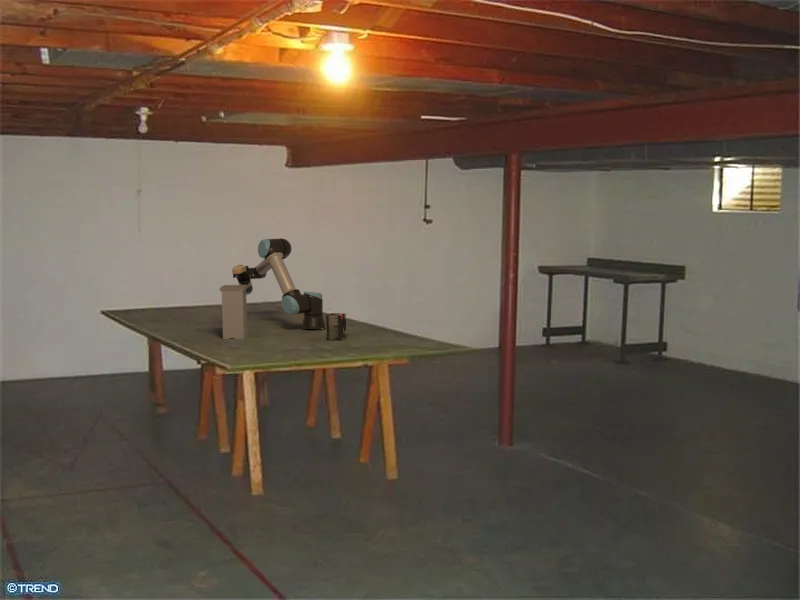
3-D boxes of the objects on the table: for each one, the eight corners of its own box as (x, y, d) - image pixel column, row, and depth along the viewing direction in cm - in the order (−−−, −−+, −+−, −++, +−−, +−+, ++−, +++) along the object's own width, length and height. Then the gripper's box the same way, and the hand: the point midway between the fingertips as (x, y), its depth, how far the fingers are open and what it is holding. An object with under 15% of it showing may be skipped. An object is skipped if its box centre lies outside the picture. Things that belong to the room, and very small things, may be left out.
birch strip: (238, 270, 569) (238, 265, 568) (245, 270, 569) (245, 265, 568) (232, 273, 541) (232, 268, 540) (240, 273, 541) (240, 268, 541)
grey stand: (225, 334, 539) (224, 285, 536) (248, 334, 540) (247, 284, 536) (221, 339, 521) (219, 287, 518) (245, 338, 522) (244, 287, 519)
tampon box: (341, 340, 512) (341, 315, 511) (326, 340, 514) (325, 314, 513) (346, 337, 523) (346, 312, 522) (331, 337, 525) (331, 312, 523)
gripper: (258, 285, 580) (254, 269, 559) (230, 285, 579) (226, 270, 558) (258, 275, 583) (254, 259, 562) (231, 275, 582) (226, 259, 561)
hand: (240, 264), depth 560 cm, fingers closed on birch strip, 4 cm apart
